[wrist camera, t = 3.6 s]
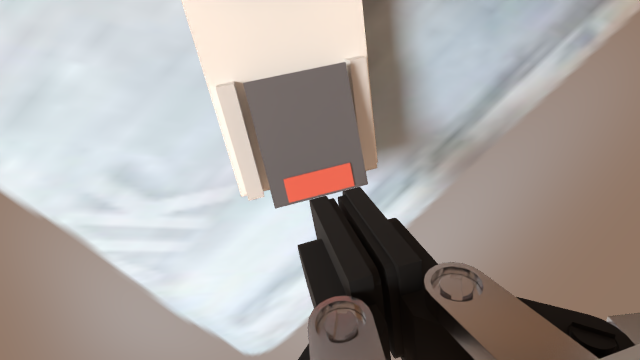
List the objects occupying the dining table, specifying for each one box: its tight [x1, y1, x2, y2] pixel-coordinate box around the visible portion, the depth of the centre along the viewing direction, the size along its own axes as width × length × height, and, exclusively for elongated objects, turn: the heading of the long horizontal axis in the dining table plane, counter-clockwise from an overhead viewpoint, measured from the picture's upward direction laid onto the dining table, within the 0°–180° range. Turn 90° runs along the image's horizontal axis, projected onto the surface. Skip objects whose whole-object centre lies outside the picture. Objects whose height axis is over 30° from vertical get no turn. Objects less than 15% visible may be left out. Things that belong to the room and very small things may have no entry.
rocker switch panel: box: [181, 0, 378, 201], centre depth 14 cm, size 14×7×4 cm, turn 10°
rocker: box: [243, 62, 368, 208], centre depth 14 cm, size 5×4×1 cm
